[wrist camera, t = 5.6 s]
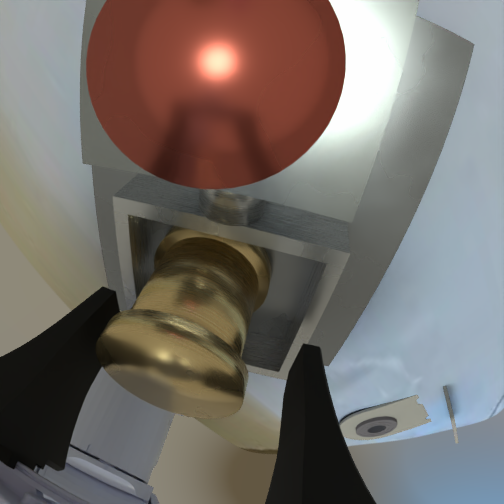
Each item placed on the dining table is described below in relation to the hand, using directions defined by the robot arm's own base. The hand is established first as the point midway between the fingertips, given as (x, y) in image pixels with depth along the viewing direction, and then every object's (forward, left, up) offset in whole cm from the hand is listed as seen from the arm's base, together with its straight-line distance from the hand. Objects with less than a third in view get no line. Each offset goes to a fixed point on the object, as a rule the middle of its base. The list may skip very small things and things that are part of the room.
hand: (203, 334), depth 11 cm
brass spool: (0, +1, -3) cm, 3 cm away
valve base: (+4, 0, -4) cm, 5 cm away
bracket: (-12, -16, -5) cm, 21 cm away
